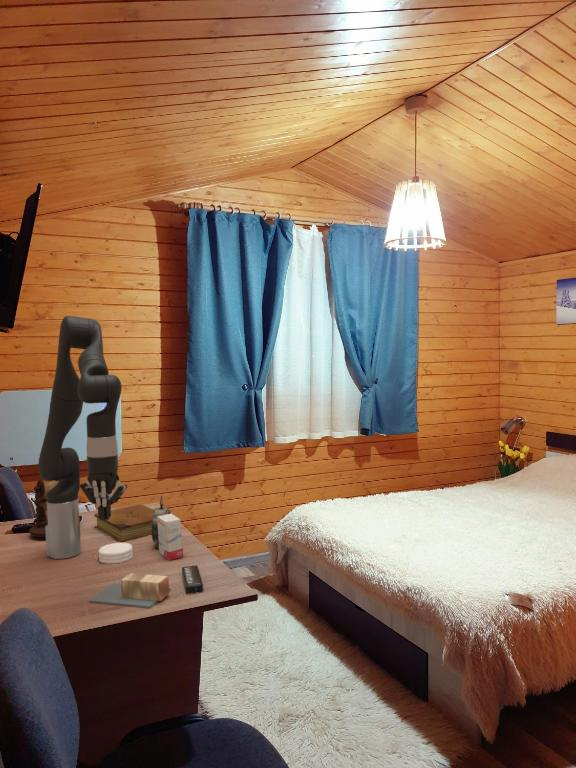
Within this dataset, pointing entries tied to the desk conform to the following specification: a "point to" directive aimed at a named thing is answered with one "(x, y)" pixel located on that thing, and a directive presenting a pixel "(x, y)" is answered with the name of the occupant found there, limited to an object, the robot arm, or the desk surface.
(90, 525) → the desk surface
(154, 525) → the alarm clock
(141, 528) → the diary
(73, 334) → the robot arm
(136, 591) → the birch block
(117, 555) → the coaster
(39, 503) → the brown tall piece
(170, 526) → the ink box
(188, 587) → the multiport hub
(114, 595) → the felt mat
